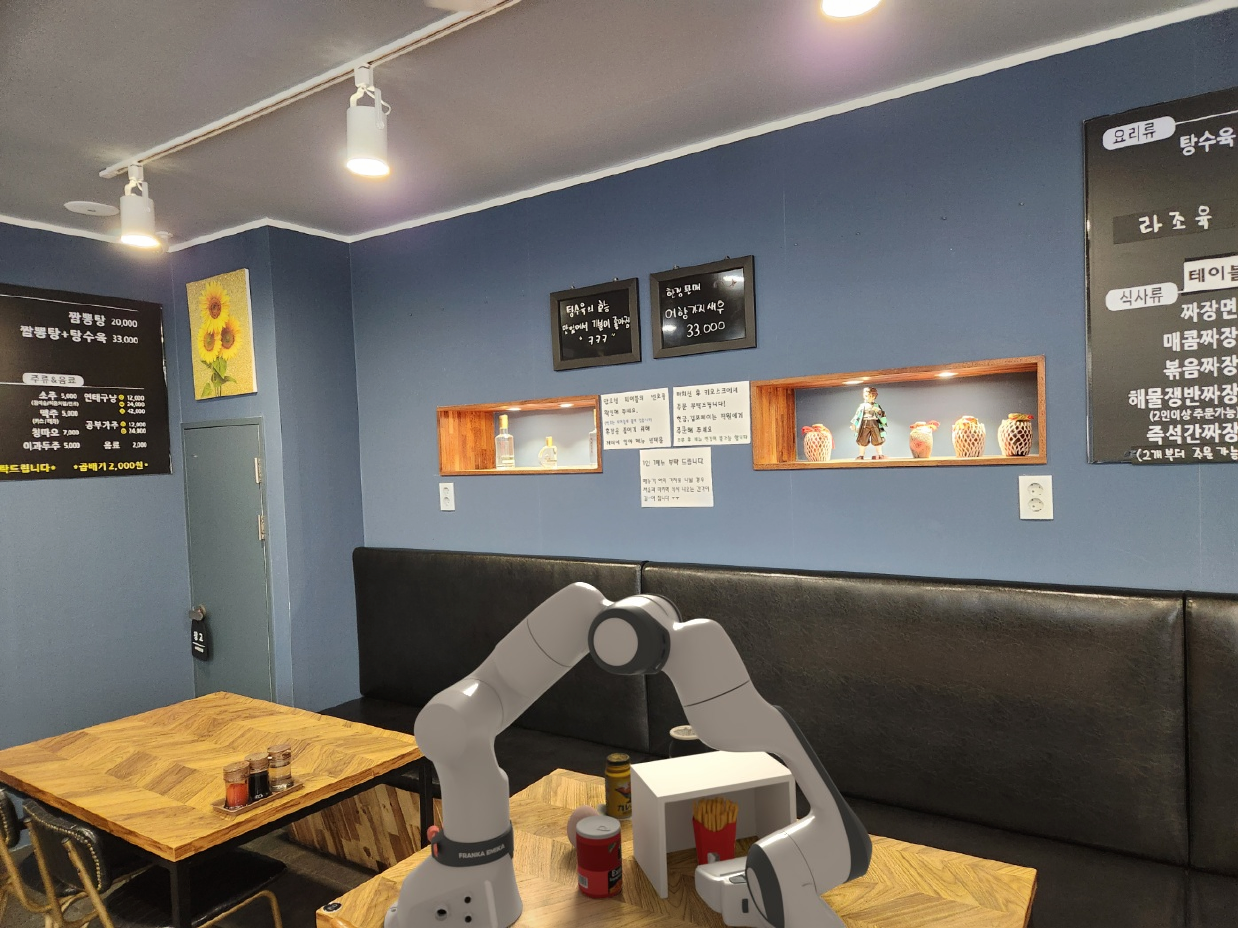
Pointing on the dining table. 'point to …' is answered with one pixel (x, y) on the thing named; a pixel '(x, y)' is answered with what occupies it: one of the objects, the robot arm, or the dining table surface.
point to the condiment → (617, 788)
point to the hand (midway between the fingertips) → (736, 851)
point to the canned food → (599, 856)
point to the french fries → (715, 828)
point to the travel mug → (685, 743)
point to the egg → (575, 817)
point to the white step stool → (679, 781)
